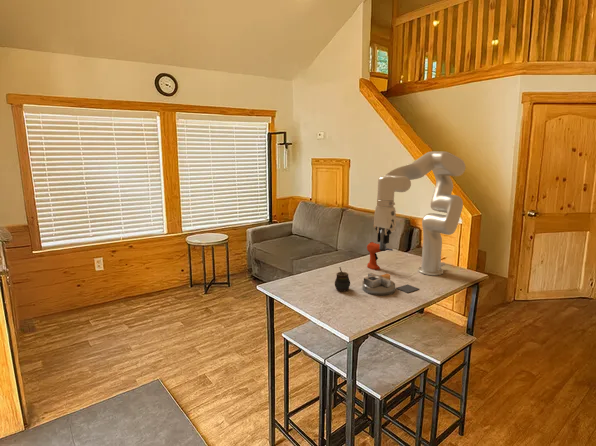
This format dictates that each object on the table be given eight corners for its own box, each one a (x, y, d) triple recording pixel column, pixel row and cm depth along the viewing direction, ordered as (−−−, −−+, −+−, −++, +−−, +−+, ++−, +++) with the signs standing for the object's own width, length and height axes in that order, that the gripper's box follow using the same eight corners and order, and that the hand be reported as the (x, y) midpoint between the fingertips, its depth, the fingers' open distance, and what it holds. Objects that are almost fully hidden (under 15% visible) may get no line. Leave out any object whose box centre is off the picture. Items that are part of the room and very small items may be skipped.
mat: (407, 285, 181) (407, 284, 181) (419, 289, 176) (419, 288, 176) (396, 288, 177) (396, 287, 177) (407, 293, 171) (407, 292, 171)
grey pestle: (382, 247, 178) (383, 227, 176) (387, 249, 175) (388, 228, 173) (378, 248, 176) (379, 227, 174) (382, 250, 174) (383, 228, 172)
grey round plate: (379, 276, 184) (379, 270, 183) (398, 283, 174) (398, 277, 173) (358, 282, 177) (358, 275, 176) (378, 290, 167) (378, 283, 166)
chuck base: (378, 281, 186) (378, 275, 186) (401, 290, 174) (402, 284, 173) (355, 288, 178) (355, 282, 178) (378, 298, 166) (379, 291, 165)
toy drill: (390, 273, 194) (388, 244, 192) (365, 268, 209) (363, 242, 208) (397, 271, 196) (395, 243, 195) (371, 266, 212) (370, 240, 211)
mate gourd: (339, 293, 172) (339, 272, 170) (331, 288, 179) (331, 268, 177) (352, 291, 174) (353, 270, 172) (344, 285, 181) (345, 266, 179)
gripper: (404, 205, 167) (402, 245, 170) (378, 201, 180) (376, 238, 184) (393, 206, 163) (390, 247, 166) (366, 202, 176) (364, 240, 180)
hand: (383, 242), depth 175 cm, fingers closed on grey pestle, 3 cm apart
